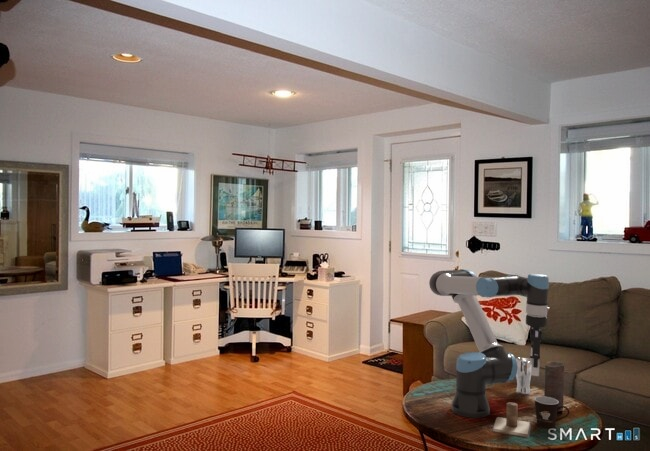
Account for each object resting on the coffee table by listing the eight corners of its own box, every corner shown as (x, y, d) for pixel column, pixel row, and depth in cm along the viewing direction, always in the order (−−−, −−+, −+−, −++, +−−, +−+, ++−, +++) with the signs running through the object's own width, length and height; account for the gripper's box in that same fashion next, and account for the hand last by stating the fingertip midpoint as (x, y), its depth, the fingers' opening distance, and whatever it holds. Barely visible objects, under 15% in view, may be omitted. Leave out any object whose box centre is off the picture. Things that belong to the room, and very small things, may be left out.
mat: (491, 432, 196) (491, 431, 196) (495, 419, 208) (495, 418, 208) (529, 439, 191) (529, 437, 191) (531, 425, 203) (531, 424, 203)
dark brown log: (565, 414, 214) (566, 365, 213) (546, 413, 215) (546, 364, 214) (560, 407, 221) (561, 360, 220) (542, 406, 223) (543, 359, 222)
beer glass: (532, 391, 241) (533, 358, 240) (529, 395, 235) (530, 362, 235) (517, 388, 245) (517, 356, 244) (513, 392, 239) (514, 360, 238)
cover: (493, 431, 196) (493, 407, 196) (497, 419, 207) (497, 396, 207) (527, 437, 191) (528, 412, 191) (529, 424, 202) (530, 401, 202)
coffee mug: (529, 425, 203) (529, 399, 203) (541, 419, 208) (542, 394, 208) (558, 435, 194) (558, 408, 194) (570, 429, 199) (570, 403, 199)
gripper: (549, 323, 187) (546, 381, 189) (545, 309, 211) (543, 361, 212) (526, 321, 190) (524, 379, 191) (525, 307, 213) (523, 359, 214)
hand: (534, 369), depth 202 cm, fingers open, 13 cm apart
